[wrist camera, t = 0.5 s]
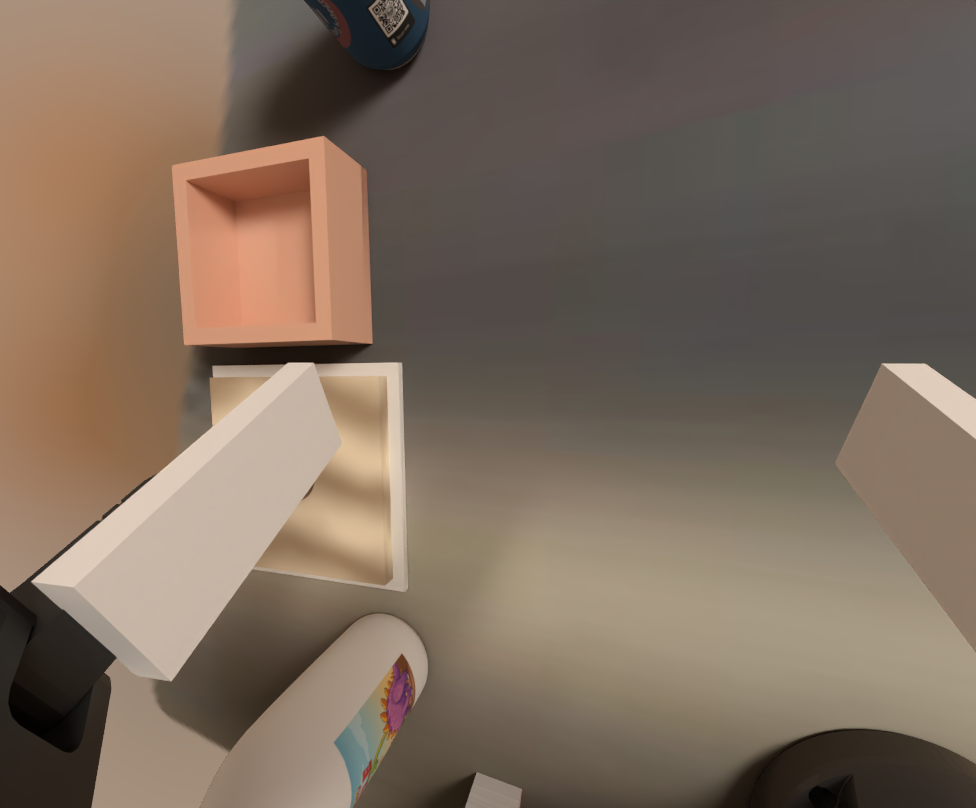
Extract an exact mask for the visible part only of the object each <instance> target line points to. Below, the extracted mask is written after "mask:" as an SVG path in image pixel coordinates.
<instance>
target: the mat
mask: <svg viewBox="0 0 976 808" xmlns="http://www.w3.org/2000/svg"><path fill="white" fill-rule="evenodd" d="M314 365H315V368H316V370H317V373H318V376H319V377H324V376H387V399H388V432H389V464H390V497H391V529H392V561H393V579H392V580H391V581H390V582H389V583H388V584H386V585H385V586H384V585H377V584H371V583H364V582H357V581H350V580H343V579H337V578H330V577H323V576H316V575H310V574H303V573H296V572H289V571H282V570H276V569H269V568H262V567H255V566H254V567H253V568H252V569H254V570H261V571H268V572H274V573H281V574H288V575H294V576H301V577H308V578H314V579H321V580H328V581H334V582H341V583H348V584H354V585H361V586H368V587H374V588H381V589H388V590H394V591H401V592H405V591H406V590H407V589H408V560H407V524H406V489H405V453H404V417H403V381H402V363H348V364H314ZM284 366H285V365H234V366H212V367H213V377H272V376H273V375H274V374H276V373H277V372H278V371H279V370H280V369H281V368H283V367H284Z"/></svg>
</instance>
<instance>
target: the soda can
mask: <svg viewBox="0 0 976 808" xmlns="http://www.w3.org/2000/svg"><path fill="white" fill-rule="evenodd" d="M304 1H305V2H306V3H307V4H308V5H309V7H310V8H311V9H312V10H313V11H314V13H315V14H316V15H317V16H318V17H319V19H320V20H321V21H322V22H323V23H324V25H325V26H326V27H327V28H328V29H329V31H330V32H331V33H332V34H333V35H334V37H335V38H336V39H337V40H338V41H339V43H340V44H341V45H342V46H343V47H344V49H345V50H346V51H347V52H348V53H349V55H350V56H351V57H352V58H353V59H354V60H355V61H357V62H358V63H359V64H361V65H363V66H365V67H368V68H372V69H378V70H394V69H397V68H400V67H402V66H404V65H405V64H407V63H408V62H409V61H410V60H412V59H413V58H414V56H415V55H416V54H417V53H418V51H419V50H420V48H421V46H422V44H423V42H424V40H425V37H426V33H427V28H428V21H429V11H430V0H304Z"/></svg>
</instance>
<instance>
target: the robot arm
mask: <svg viewBox="0 0 976 808" xmlns="http://www.w3.org/2000/svg"><path fill="white" fill-rule="evenodd" d="M341 444H342V441H341V439H340V436H339V433H338V430H337V427H336V424H335V422H334V419H333V416H332V413H331V410H330V407H329V404H328V402H327V399H326V396H325V393H324V390H323V387H322V385H321V382H320V379H319V376H318V373H317V370H316V368H315V365H314V363H287V364H286V365H285V366H284V367H283V368H281V369H280V370H279V371H278V372H277V373H276V374H274V375H273V376H272V377H271V378H270V379H269V380H267V381H266V382H265V383H264V384H263V385H261V386H260V387H259V388H258V389H257V390H256V391H254V392H253V393H252V394H251V395H250V396H249V397H247V398H246V399H245V400H244V401H243V402H241V403H240V404H239V405H238V406H237V407H236V408H234V409H233V410H232V411H231V412H230V413H229V414H227V415H226V416H225V417H224V418H223V419H222V420H220V421H219V422H218V423H217V424H216V425H214V426H213V427H212V428H211V429H210V430H209V431H207V432H206V433H205V434H204V435H203V436H202V437H200V438H199V439H198V440H197V441H196V442H194V443H193V444H192V445H191V446H190V447H189V448H187V449H186V450H185V451H184V452H183V453H182V454H180V455H179V456H178V457H177V458H176V459H175V460H173V461H172V462H171V463H170V464H169V465H167V466H166V467H165V468H164V469H163V470H162V471H160V472H159V473H157V474H155V475H154V476H152V477H150V478H148V479H147V480H145V481H144V482H142V483H141V484H140V485H139V486H138V487H136V488H135V489H134V490H133V491H132V492H131V493H129V494H128V495H127V496H126V497H125V498H123V499H122V500H121V501H122V503H121V504H116V505H115V506H114V507H113V508H111V509H110V510H109V511H108V512H107V513H106V514H104V515H103V516H102V517H103V518H102V520H101V521H96V522H95V523H94V524H92V525H91V526H90V527H89V528H88V529H87V530H85V531H84V532H83V533H82V534H81V535H79V536H78V537H77V538H76V539H75V540H73V541H72V542H71V543H70V544H69V545H67V546H66V547H65V548H64V549H63V550H62V551H60V552H59V553H58V554H57V555H56V556H54V557H53V558H52V559H51V560H50V561H48V563H46V564H45V565H44V566H43V567H41V568H40V569H39V570H38V571H37V572H35V573H34V574H33V575H32V576H31V577H29V578H28V579H27V580H26V581H25V582H23V583H22V584H21V585H20V586H19V587H17V588H16V589H14V590H13V591H12V592H10V593H9V592H7V591H6V590H5V589H4V588H3V587H2V586H0V808H91V806H92V800H93V794H94V788H95V781H96V776H97V770H98V765H99V759H100V753H101V747H102V741H103V735H104V729H105V723H106V717H107V711H108V705H109V699H110V694H111V681H110V677H109V676H108V675H106V674H105V673H104V672H105V671H106V669H107V668H108V667H109V666H110V665H111V664H112V663H113V661H114V660H115V659H116V658H117V659H118V660H119V661H120V662H121V663H122V664H123V665H125V666H126V667H127V668H128V669H129V670H130V671H131V672H132V673H133V674H135V675H137V676H143V677H148V678H154V679H160V680H166V681H172V680H173V679H174V677H175V676H176V674H177V673H178V672H179V670H180V669H181V667H182V666H183V665H184V663H185V662H186V660H187V659H188V658H189V656H190V655H191V653H192V652H193V651H194V649H195V648H196V647H197V645H198V644H199V642H200V641H201V640H202V638H203V637H204V635H205V634H206V633H207V631H208V630H209V628H210V627H211V626H212V624H213V623H214V621H215V620H216V619H217V617H218V616H219V614H220V613H221V612H222V610H223V609H224V608H225V606H226V605H227V603H228V602H229V601H230V599H231V598H232V596H233V595H234V594H235V592H236V591H237V589H238V588H239V587H240V585H241V584H242V582H243V581H244V580H245V578H246V577H247V575H248V574H249V573H250V571H251V570H252V568H253V567H254V566H255V564H256V563H257V562H258V560H259V559H260V557H261V556H262V555H263V553H264V552H265V550H266V549H267V548H268V546H269V545H270V543H271V542H272V541H273V539H274V538H275V536H276V535H277V534H278V532H279V531H280V529H281V528H282V527H283V525H284V524H285V522H286V521H287V520H288V518H289V517H290V516H291V514H292V513H293V511H294V510H295V509H296V507H297V506H298V504H299V503H300V502H301V500H302V499H303V497H304V496H305V495H306V493H307V492H308V490H309V489H310V488H311V486H312V485H313V483H314V482H315V481H316V479H317V478H318V476H319V475H320V474H321V472H322V471H323V470H324V468H325V467H326V465H327V464H328V463H329V461H330V460H331V458H332V457H333V456H334V454H335V453H336V451H337V450H338V449H339V447H340V446H341ZM835 465H836V466H837V468H838V469H839V470H840V472H841V473H842V474H843V476H844V477H845V478H846V480H847V481H848V482H849V484H850V485H851V486H852V488H853V489H854V490H855V492H856V493H857V494H858V496H859V497H860V498H861V500H862V501H863V502H864V504H865V505H866V506H867V508H868V509H869V510H870V512H871V513H872V514H873V516H874V517H875V518H876V520H877V521H878V522H879V524H880V525H881V526H882V528H883V529H884V530H885V532H886V533H887V534H888V536H889V537H890V538H891V540H892V541H893V542H894V544H895V545H896V546H897V548H898V549H899V550H900V552H901V553H902V554H903V556H904V557H905V558H906V560H907V561H908V562H909V564H910V565H911V566H912V568H913V569H914V570H915V572H916V573H917V574H918V576H919V577H920V578H921V580H922V581H923V582H924V584H925V585H926V586H927V588H928V589H929V590H930V592H931V593H932V594H933V596H934V597H935V598H936V600H937V601H938V602H939V604H940V605H941V606H942V608H943V609H944V610H945V612H946V613H947V614H948V616H949V617H950V618H951V620H952V621H953V622H954V624H955V625H956V626H957V628H958V629H959V630H960V632H961V633H962V634H963V636H964V637H965V638H966V640H967V641H968V642H969V644H970V645H971V646H972V648H973V649H974V650H975V652H976V399H974V398H973V397H972V396H970V395H969V394H967V393H966V392H964V391H963V390H962V389H960V388H959V387H957V386H956V385H955V384H953V383H952V382H950V381H949V380H947V379H946V378H945V377H943V376H942V375H940V374H939V373H937V372H936V371H935V370H933V369H932V368H930V367H929V366H927V365H926V364H882V365H881V367H880V369H879V371H878V373H877V375H876V377H875V379H874V381H873V384H872V386H871V388H870V390H869V392H868V394H867V396H866V398H865V400H864V403H863V405H862V407H861V409H860V411H859V413H858V415H857V417H856V420H855V422H854V424H853V426H852V428H851V430H850V432H849V434H848V436H847V439H846V441H845V443H844V445H843V447H842V449H841V451H840V453H839V455H838V458H837V460H836V462H835ZM749 808H976V764H974V763H973V762H971V761H969V760H968V759H966V758H964V757H962V756H960V755H958V754H956V753H954V752H952V751H950V750H948V749H946V748H943V747H941V746H938V745H936V744H933V743H930V742H927V741H924V740H921V739H918V738H914V737H910V736H906V735H901V734H896V733H890V732H882V731H870V730H851V731H840V732H833V733H828V734H823V735H820V736H816V737H813V738H810V739H807V740H805V741H802V742H800V743H798V744H796V745H794V746H792V747H791V748H789V749H787V750H786V751H784V752H783V753H781V754H780V755H779V756H778V757H777V758H775V759H774V760H773V761H772V762H771V763H770V764H769V765H768V766H767V768H766V769H765V770H764V771H763V773H762V774H761V776H760V778H759V779H758V781H757V783H756V785H755V788H754V790H753V793H752V796H751V800H750V806H749Z"/></svg>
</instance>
